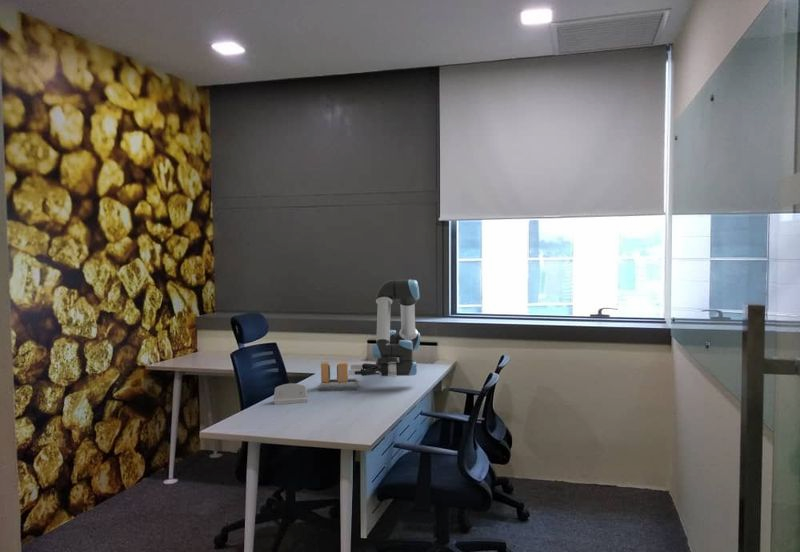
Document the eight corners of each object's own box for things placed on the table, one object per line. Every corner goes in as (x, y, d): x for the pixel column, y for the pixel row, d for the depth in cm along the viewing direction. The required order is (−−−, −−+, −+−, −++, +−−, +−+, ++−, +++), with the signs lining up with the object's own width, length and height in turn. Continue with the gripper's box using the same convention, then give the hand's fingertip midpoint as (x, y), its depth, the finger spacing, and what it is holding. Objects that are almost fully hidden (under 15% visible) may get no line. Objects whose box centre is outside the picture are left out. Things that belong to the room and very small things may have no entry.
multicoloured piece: (321, 384, 320) (321, 360, 319) (358, 383, 320) (357, 359, 319) (318, 390, 306) (317, 365, 305) (356, 390, 306) (356, 365, 305)
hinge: (273, 404, 281) (272, 384, 283) (273, 405, 285) (273, 385, 288) (307, 402, 284) (307, 382, 286) (307, 403, 288) (306, 383, 291)
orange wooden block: (338, 383, 315) (337, 361, 315) (347, 383, 315) (347, 361, 315) (337, 385, 310) (336, 363, 310) (347, 385, 310) (346, 363, 310)
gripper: (388, 381, 300) (347, 381, 300) (388, 370, 325) (351, 371, 325) (388, 367, 300) (347, 367, 300) (388, 357, 325) (351, 358, 324)
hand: (349, 369), depth 312 cm, fingers open, 13 cm apart
